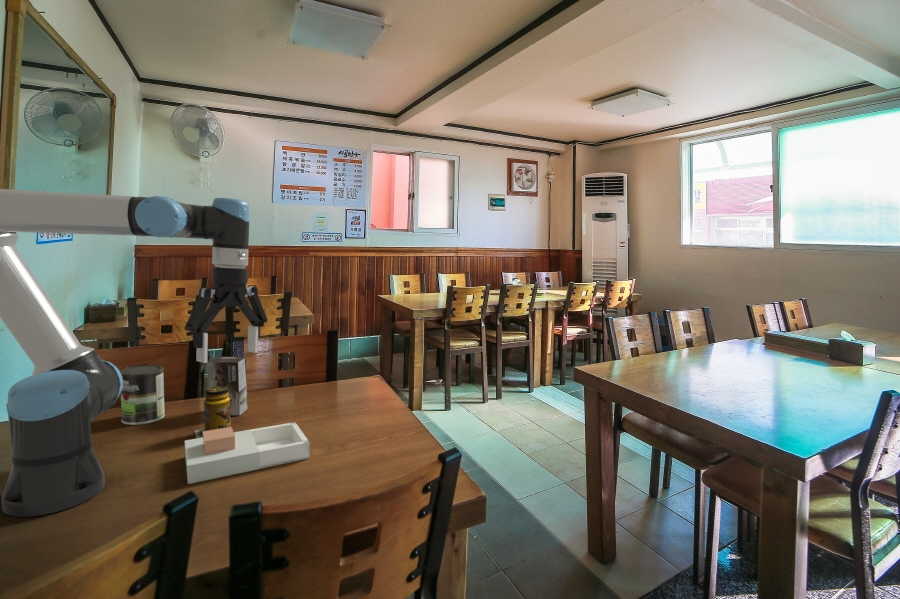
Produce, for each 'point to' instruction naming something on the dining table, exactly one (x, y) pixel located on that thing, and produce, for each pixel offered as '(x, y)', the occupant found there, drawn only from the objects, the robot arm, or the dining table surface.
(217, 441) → the tile
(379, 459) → the dining table surface
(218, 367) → the coffee box
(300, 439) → the box
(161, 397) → the coffee can
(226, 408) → the condiment
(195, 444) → the white flat block
